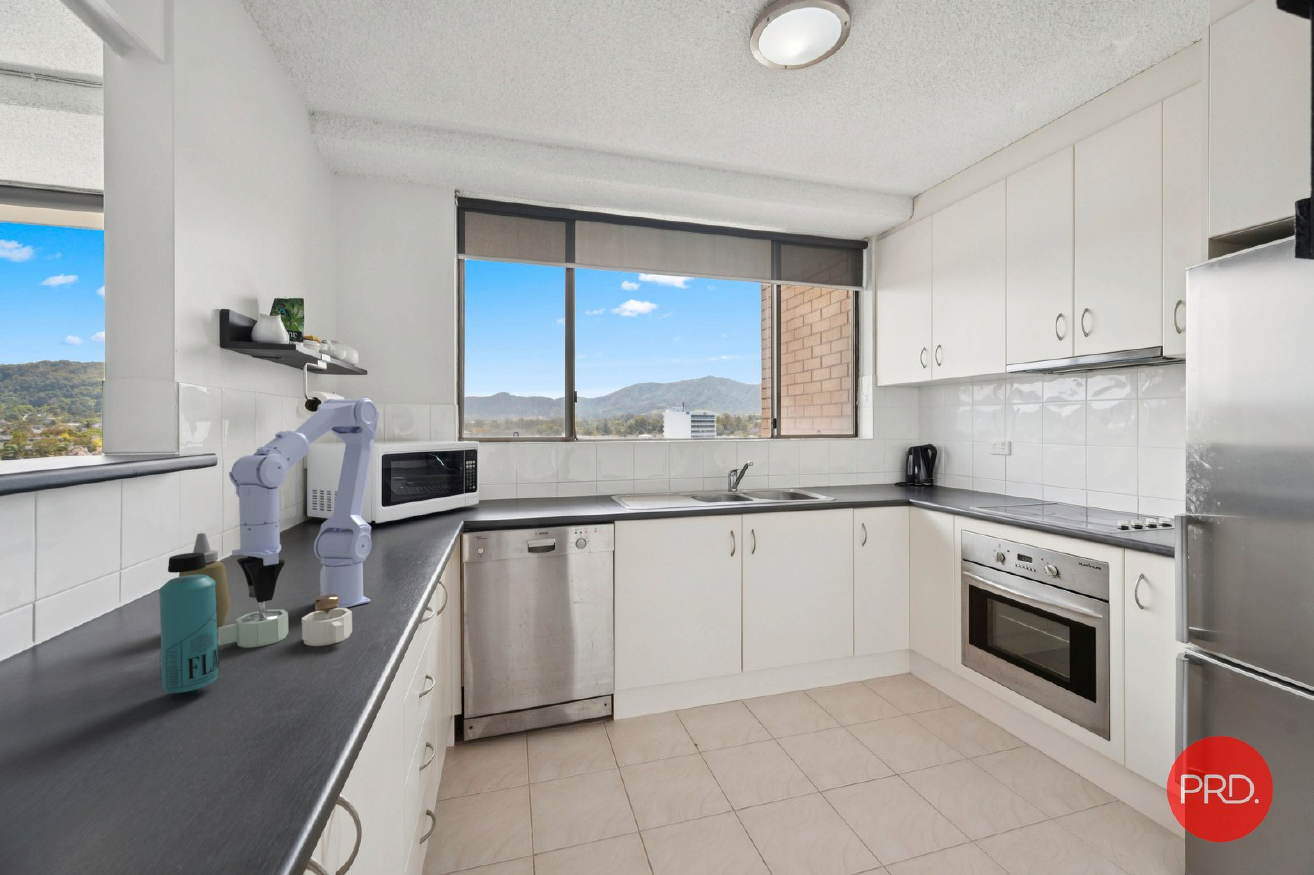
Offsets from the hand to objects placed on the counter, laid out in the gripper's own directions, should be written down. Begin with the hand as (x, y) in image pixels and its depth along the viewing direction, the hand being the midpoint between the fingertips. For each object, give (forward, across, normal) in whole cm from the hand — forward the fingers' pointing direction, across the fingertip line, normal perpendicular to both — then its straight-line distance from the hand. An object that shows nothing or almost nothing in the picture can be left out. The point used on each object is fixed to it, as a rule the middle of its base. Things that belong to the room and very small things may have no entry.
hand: (261, 598), depth 98 cm
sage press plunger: (+4, 0, 0) cm, 4 cm away
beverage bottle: (+8, +16, -12) cm, 21 cm away
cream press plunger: (+7, +8, +8) cm, 13 cm away
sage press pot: (+7, 0, -1) cm, 8 cm away
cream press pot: (+7, +9, +8) cm, 14 cm away
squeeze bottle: (+8, -15, -6) cm, 18 cm away
